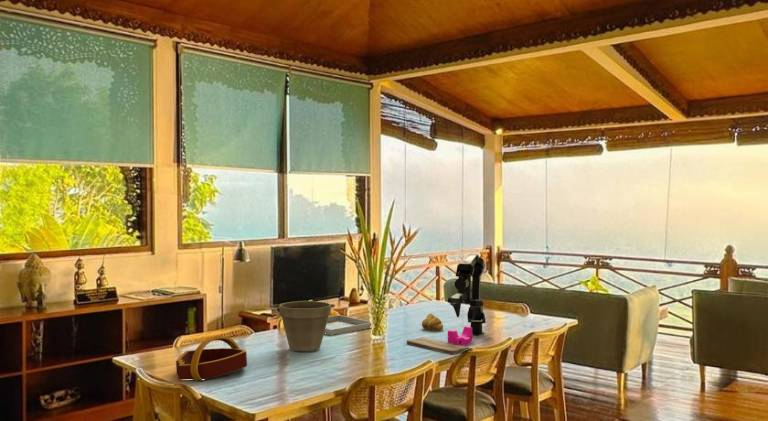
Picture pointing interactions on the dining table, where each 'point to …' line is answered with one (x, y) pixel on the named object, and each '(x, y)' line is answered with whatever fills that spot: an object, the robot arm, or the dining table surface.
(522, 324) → the dining table surface
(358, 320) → the slate tray rim
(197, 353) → the decorative basket
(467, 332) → the toy block
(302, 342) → the plant pot
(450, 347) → the walnut board
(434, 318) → the bread roll
